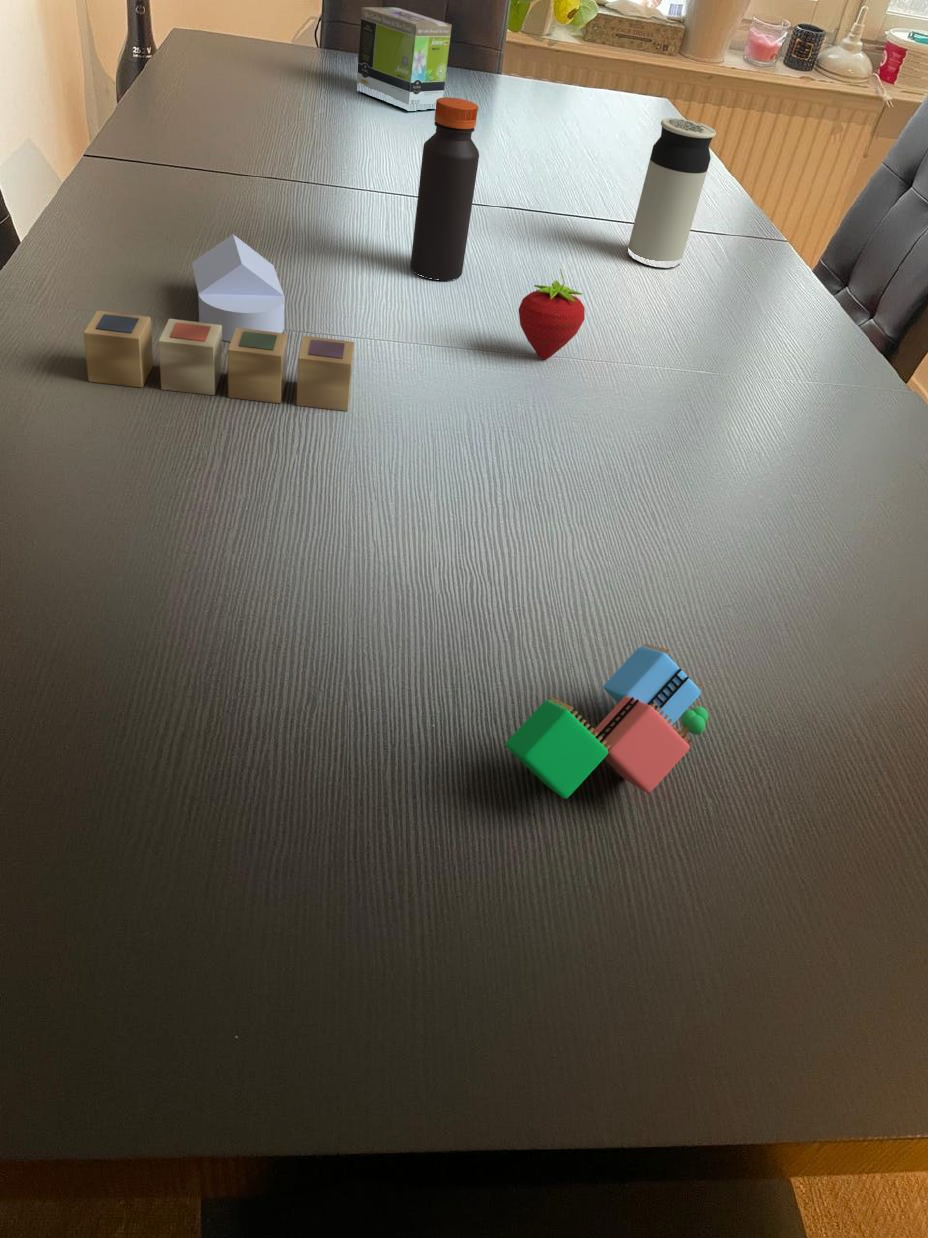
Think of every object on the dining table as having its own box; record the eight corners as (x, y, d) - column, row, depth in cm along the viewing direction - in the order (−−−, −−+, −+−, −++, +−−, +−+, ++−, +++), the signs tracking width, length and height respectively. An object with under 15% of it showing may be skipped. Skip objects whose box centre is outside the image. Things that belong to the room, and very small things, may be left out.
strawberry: (504, 345, 113) (519, 259, 107) (565, 347, 115) (584, 262, 109) (517, 369, 109) (534, 280, 102) (581, 371, 111) (602, 284, 104)
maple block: (161, 389, 94) (158, 339, 91) (171, 366, 98) (168, 317, 95) (214, 395, 95) (213, 346, 91) (222, 372, 99) (221, 323, 95)
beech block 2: (228, 397, 95) (227, 348, 92) (235, 374, 99) (235, 325, 95) (280, 403, 95) (281, 354, 92) (286, 380, 99) (287, 332, 96)
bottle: (400, 271, 126) (418, 99, 113) (424, 257, 131) (444, 91, 118) (447, 286, 124) (471, 114, 111) (470, 271, 129) (495, 105, 116)
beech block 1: (88, 381, 93) (82, 330, 90) (101, 358, 97) (96, 308, 94) (142, 388, 94) (139, 337, 91) (153, 364, 98) (150, 315, 94)
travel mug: (637, 268, 139) (672, 131, 128) (619, 247, 145) (651, 114, 134) (688, 271, 141) (727, 137, 130) (668, 250, 147) (704, 120, 136)
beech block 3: (296, 405, 96) (298, 356, 92) (301, 381, 99) (303, 334, 96) (347, 411, 96) (351, 363, 93) (350, 387, 100) (354, 340, 97)
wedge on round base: (192, 291, 112) (202, 342, 103) (190, 232, 108) (201, 279, 98) (272, 293, 115) (289, 343, 105) (274, 235, 110) (291, 282, 101)
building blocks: (563, 807, 68) (679, 680, 69) (610, 844, 60) (739, 700, 61) (485, 731, 66) (605, 602, 67) (523, 759, 58) (658, 612, 59)
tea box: (443, 109, 193) (454, 23, 183) (406, 113, 186) (415, 24, 177) (391, 88, 200) (398, 4, 190) (353, 91, 193) (359, 4, 184)
